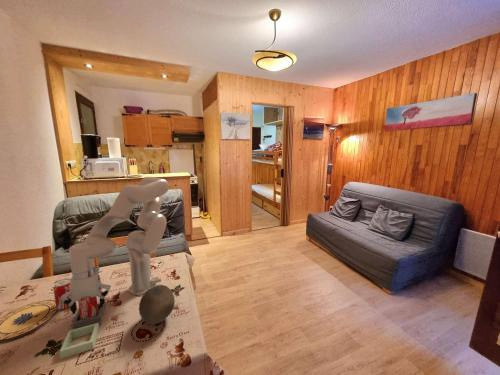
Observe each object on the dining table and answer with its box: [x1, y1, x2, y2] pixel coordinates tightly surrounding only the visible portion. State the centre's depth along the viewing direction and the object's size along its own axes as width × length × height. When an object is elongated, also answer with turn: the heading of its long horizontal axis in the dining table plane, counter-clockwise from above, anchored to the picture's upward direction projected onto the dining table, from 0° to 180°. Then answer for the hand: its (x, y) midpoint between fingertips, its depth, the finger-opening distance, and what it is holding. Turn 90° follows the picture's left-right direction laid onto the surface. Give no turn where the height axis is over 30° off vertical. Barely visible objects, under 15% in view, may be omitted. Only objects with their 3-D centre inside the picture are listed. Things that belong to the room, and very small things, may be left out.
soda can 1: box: [53, 278, 71, 310], centre depth 98 cm, size 7×7×12 cm
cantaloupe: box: [138, 284, 176, 325], centre depth 90 cm, size 14×14×15 cm
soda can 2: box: [77, 296, 99, 320], centre depth 91 cm, size 6×6×12 cm
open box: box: [59, 302, 106, 360], centre depth 86 cm, size 10×22×3 cm, turn 25°
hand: (88, 308), depth 91 cm, fingers open, 9 cm apart
